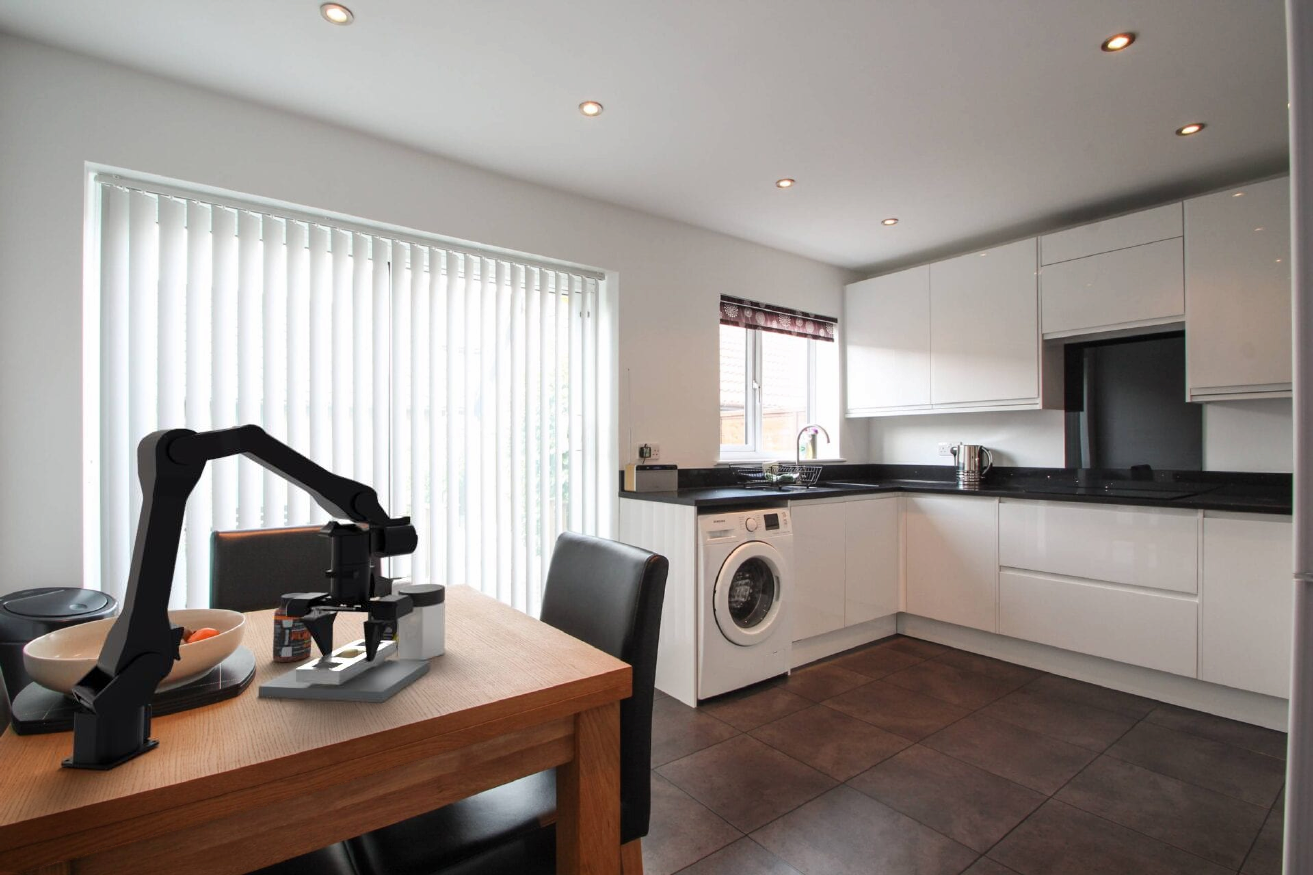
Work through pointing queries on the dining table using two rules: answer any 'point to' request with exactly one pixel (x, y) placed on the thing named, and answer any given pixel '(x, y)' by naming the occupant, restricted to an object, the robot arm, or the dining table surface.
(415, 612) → the jar
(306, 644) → the supplement bottle
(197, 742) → the dining table surface
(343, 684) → the post base
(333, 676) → the white slotted frame
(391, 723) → the dining table surface
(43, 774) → the dining table surface
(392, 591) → the medicine bottle
